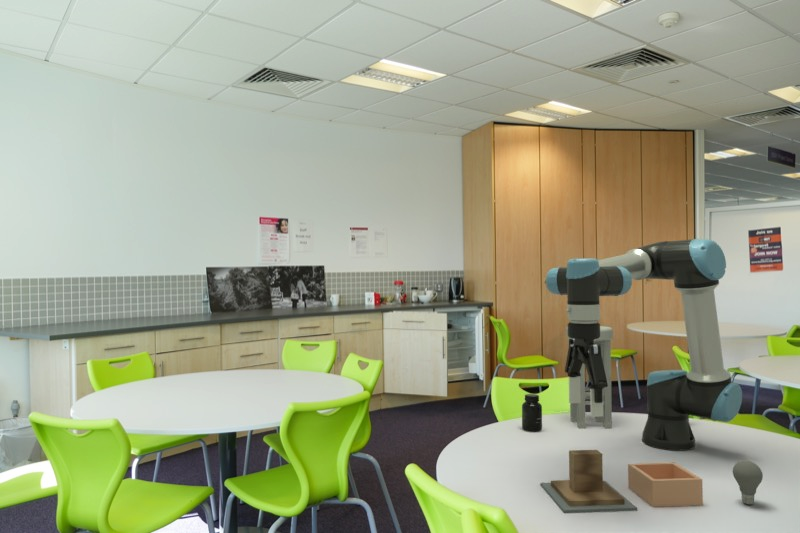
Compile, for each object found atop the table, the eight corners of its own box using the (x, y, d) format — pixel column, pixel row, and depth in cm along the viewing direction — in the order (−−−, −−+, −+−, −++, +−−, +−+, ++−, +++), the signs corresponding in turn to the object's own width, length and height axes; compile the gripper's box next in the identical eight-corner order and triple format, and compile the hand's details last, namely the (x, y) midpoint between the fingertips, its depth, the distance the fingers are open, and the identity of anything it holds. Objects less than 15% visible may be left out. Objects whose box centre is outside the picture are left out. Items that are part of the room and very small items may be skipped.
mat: (605, 483, 145) (605, 480, 145) (637, 510, 128) (637, 507, 128) (540, 485, 144) (540, 482, 144) (564, 512, 127) (564, 510, 127)
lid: (600, 483, 143) (600, 443, 143) (624, 504, 130) (623, 460, 130) (550, 485, 142) (550, 444, 142) (569, 506, 129) (569, 461, 129)
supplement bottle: (542, 432, 192) (542, 397, 192) (522, 431, 194) (521, 396, 194) (541, 427, 199) (541, 393, 199) (521, 426, 200) (521, 392, 201)
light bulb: (727, 499, 134) (726, 457, 134) (751, 498, 135) (750, 456, 135) (744, 509, 128) (744, 465, 128) (769, 508, 129) (768, 464, 129)
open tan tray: (674, 486, 143) (673, 462, 143) (702, 505, 131) (702, 479, 131) (628, 487, 142) (628, 463, 142) (652, 507, 130) (652, 480, 130)
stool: (563, 418, 211) (562, 325, 211) (605, 418, 210) (603, 325, 211) (574, 430, 195) (573, 329, 196) (619, 430, 195) (618, 329, 195)
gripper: (551, 318, 149) (553, 398, 149) (589, 326, 124) (591, 423, 124) (579, 317, 150) (580, 397, 149) (622, 326, 125) (624, 422, 124)
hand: (585, 409), depth 137 cm, fingers open, 13 cm apart
